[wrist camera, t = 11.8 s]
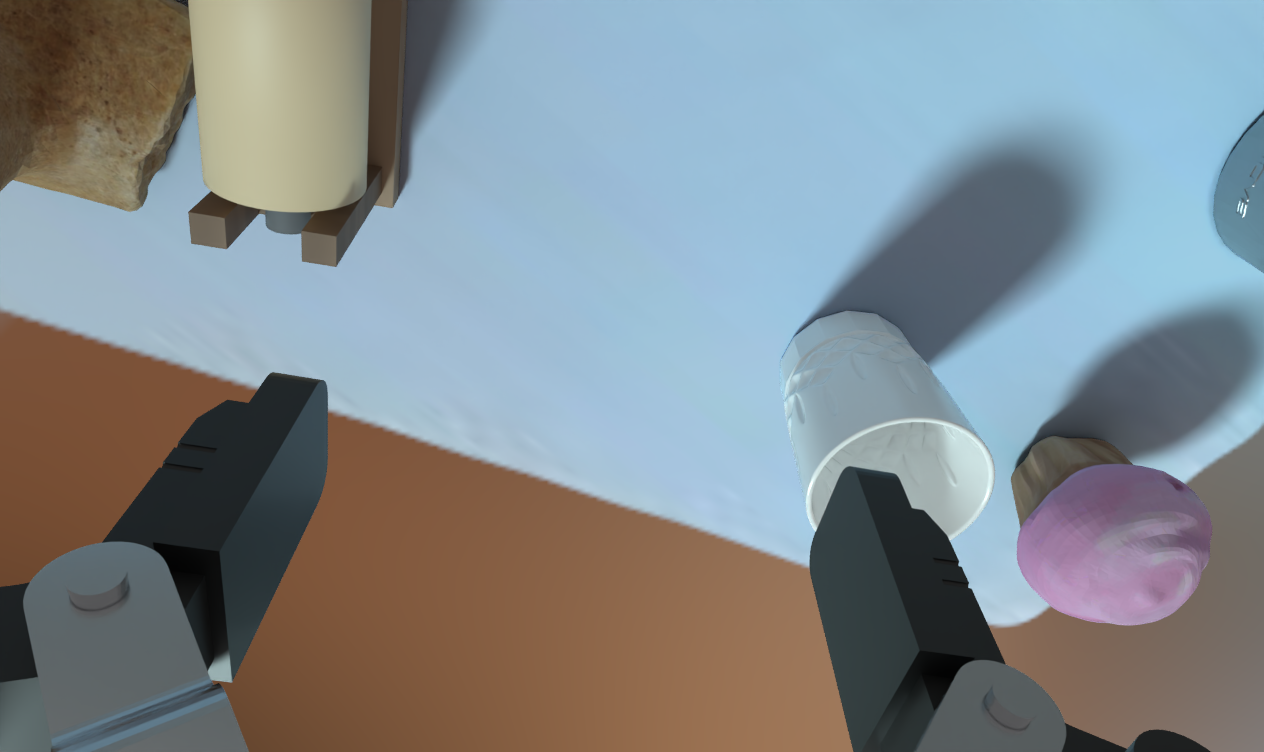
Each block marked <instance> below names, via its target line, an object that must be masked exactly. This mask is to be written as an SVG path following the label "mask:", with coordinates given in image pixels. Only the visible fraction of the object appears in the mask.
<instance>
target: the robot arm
mask: <svg viewBox="0 0 1264 752" xmlns="http://www.w3.org/2000/svg"><path fill="white" fill-rule="evenodd" d="M1213 216H1214V220H1215V225H1216V229H1217V232H1218V234H1219V235H1220V237H1221V239H1222V241H1223V242H1224V244H1225V245H1226V246H1227V247H1228V248H1229V249H1230V250H1232V251H1233V252H1234V253H1235V254H1236V255H1237V256H1239V257H1240V258H1242V259H1243V260H1245V261H1246V262H1248V263H1249V264H1251V265H1252V266H1254V267H1255V268H1257V269H1258V270H1260V271H1261V272H1263V273H1264V115H1263V116H1262V117H1261V118H1260V119H1259V120H1258V121H1257V122H1256V123H1255V124H1254V125H1253V126H1252V127H1251V128H1250V129H1249V130H1248V131H1247V133H1246V134H1245V135H1244V136H1243V137H1242V139H1241V140H1240V142H1239V143H1238V145H1237V146H1236V147H1235V149H1234V150H1233V152H1232V153H1231V154H1230V156H1229V158H1228V160H1227V162H1226V164H1225V166H1224V168H1223V170H1222V172H1221V174H1220V177H1219V180H1218V184H1217V188H1216V191H1215V195H1214V209H1213ZM327 450H328V392H327V385H326V382H325V381H324V380H318V379H312V378H305V377H299V376H293V375H287V374H281V373H274V372H272V373H270V374H269V375H268V376H267V377H266V379H265V380H264V382H263V383H262V385H261V386H260V388H259V389H258V391H257V392H256V393H255V395H254V396H253V398H252V399H251V401H250V402H249V403H245V402H238V401H232V400H226V401H225V402H223V403H221V404H220V405H218V406H217V407H215V408H213V409H212V410H210V411H208V412H207V413H205V414H203V415H202V416H200V417H198V418H197V419H196V420H195V422H194V423H193V424H192V425H191V427H190V428H189V429H188V431H187V432H186V433H185V434H184V436H183V437H182V438H181V440H180V441H179V442H178V447H177V448H174V449H173V450H172V452H171V453H170V454H169V456H168V457H167V458H166V459H165V461H164V462H163V466H162V468H158V470H157V471H156V472H155V474H154V475H153V476H152V478H151V479H150V480H149V482H148V483H147V484H146V486H145V487H144V488H143V490H142V491H141V492H140V493H139V495H138V496H137V497H136V499H135V500H134V501H133V502H132V504H131V505H130V506H129V508H128V509H127V510H126V512H125V513H124V514H123V516H122V517H121V518H120V520H119V521H118V522H117V523H116V525H115V526H114V527H113V529H112V530H111V531H110V533H109V534H108V535H107V537H106V538H105V539H104V541H103V542H102V543H97V544H93V545H88V546H85V547H82V548H79V549H76V550H73V551H71V552H69V553H66V554H64V555H62V556H60V557H58V558H57V559H55V560H53V561H52V562H50V563H49V564H48V565H46V566H45V567H44V568H42V569H41V570H40V571H39V572H38V573H37V574H36V575H35V576H34V578H33V579H32V581H31V582H29V583H25V584H20V585H13V586H5V587H0V752H249V751H248V748H247V746H246V743H245V741H244V738H243V736H242V733H241V730H240V728H239V726H238V723H237V720H236V718H235V715H234V712H233V710H232V707H231V705H230V702H229V700H228V697H227V695H226V693H225V691H224V689H223V687H222V686H221V685H220V684H219V683H218V684H216V685H213V683H212V681H211V680H217V681H225V682H232V681H233V679H234V677H235V675H236V673H237V671H238V669H239V666H240V664H241V663H242V660H243V658H244V656H245V654H246V652H247V650H248V648H249V646H250V644H251V642H252V640H253V637H254V635H255V633H256V631H257V629H258V627H259V625H260V623H261V621H262V619H263V617H264V614H265V613H266V610H267V608H268V606H269V604H270V602H271V600H272V598H273V596H274V594H275V592H276V590H277V588H278V586H279V583H280V581H281V579H282V577H283V575H284V573H285V571H286V569H287V567H288V564H289V563H290V560H291V558H292V556H293V554H294V552H295V550H296V548H297V546H298V544H299V542H300V540H301V538H302V535H303V533H304V531H305V529H306V527H307V525H308V523H309V521H310V519H311V516H312V515H313V513H314V510H315V508H316V506H317V504H318V502H319V499H320V497H321V494H322V491H323V487H324V483H325V477H326V472H327V460H328V451H327ZM958 563H959V560H958V558H957V556H956V554H955V552H954V549H953V547H952V545H951V543H950V541H949V538H948V536H947V535H946V534H945V532H944V531H943V530H942V529H941V528H940V527H939V526H938V525H937V524H936V523H935V522H934V520H933V519H932V518H931V517H930V516H929V515H928V514H927V513H926V512H925V511H924V510H921V509H914V508H912V507H911V505H910V502H909V500H908V497H907V495H906V493H905V490H904V488H903V486H902V483H901V481H900V479H899V477H898V476H897V475H896V474H895V473H889V472H883V471H877V470H871V469H865V468H858V467H852V466H848V467H846V468H845V469H844V470H843V471H842V473H841V474H840V476H839V479H838V481H837V483H836V486H835V488H834V490H833V493H832V495H831V497H830V500H829V502H828V504H827V507H826V509H825V511H824V514H823V516H822V518H821V521H820V523H819V525H818V528H817V530H816V532H815V535H814V538H813V541H812V545H811V551H810V574H811V579H812V583H813V587H814V591H815V595H816V600H817V604H818V608H819V612H820V616H821V620H822V624H823V628H824V633H825V637H826V641H827V645H828V649H829V653H830V657H831V661H832V665H833V670H834V673H835V678H836V682H837V686H838V690H839V694H840V698H841V702H842V706H843V711H844V715H845V719H846V723H847V727H848V731H849V735H850V739H851V744H852V747H853V751H854V752H1210V751H1209V750H1208V749H1206V748H1205V747H1203V746H1201V745H1200V744H1198V743H1197V742H1195V741H1193V740H1191V739H1189V738H1187V737H1185V736H1182V735H1179V734H1177V733H1174V732H1170V731H1165V730H1149V731H1146V732H1143V733H1142V734H1141V735H1139V736H1138V737H1137V738H1136V740H1135V741H1134V742H1133V743H1132V744H1131V745H1130V747H1129V748H1128V749H1126V748H1123V747H1121V746H1119V745H1116V744H1114V743H1111V742H1109V741H1106V740H1104V739H1101V738H1099V737H1096V736H1094V735H1092V734H1089V733H1087V732H1084V731H1082V730H1079V729H1077V728H1075V727H1072V726H1070V725H1068V724H1066V723H1065V722H1064V719H1063V717H1062V714H1061V712H1060V710H1059V708H1058V707H1057V705H1056V704H1055V702H1054V701H1053V700H1052V698H1051V697H1050V696H1049V695H1048V693H1046V692H1045V690H1044V689H1043V688H1042V687H1040V686H1039V685H1038V684H1037V683H1036V682H1035V681H1034V680H1032V679H1031V678H1029V677H1028V676H1027V675H1025V674H1024V673H1021V672H1020V671H1018V670H1016V669H1015V668H1012V667H1010V666H1008V665H1006V664H1005V662H1004V659H1003V657H1002V655H1001V653H1000V650H999V648H998V646H997V644H996V642H995V640H994V637H993V635H992V633H991V631H990V629H989V626H988V624H987V622H986V620H985V618H984V615H983V613H982V611H981V609H980V607H979V604H978V602H977V600H976V598H975V596H974V593H973V591H972V589H970V588H968V584H969V582H968V580H967V578H966V576H965V574H964V571H963V569H962V567H960V566H958Z"/></svg>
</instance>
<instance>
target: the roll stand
mask: <svg viewBox="0 0 1264 752" xmlns="http://www.w3.org/2000/svg"><path fill="white" fill-rule="evenodd" d="M407 6H408V0H372V1H371V39H370V77H369V114H368V152H367V188H366V192H365V194H364V195H363V196H362V197H361V198H360V199H359V200H357V201H356V202H354V203H351V204H349V205H346V206H343V207H340V208H336V209H331V210H325V211H316V212H311V219H310V220H309V222H308V223H307V224H306V225H305V227H304V228H303V229H302V231H301V235H302V261H303V262H309V263H315V264H322V265H328V266H334V267H336V266H337V265H338V263H339V261H340V260H341V258H342V257H343V255H344V253H345V252H346V250H347V248H348V247H349V245H350V244H351V242H352V240H353V239H354V237H355V235H356V234H357V232H358V231H359V229H360V227H361V226H362V224H363V223H364V221H365V219H366V218H367V216H368V214H369V213H370V211H371V210H372V208H373V206H374V205H377V206H383V207H389V208H393V207H394V205H395V203H396V201H397V199H398V193H399V172H400V151H401V131H402V110H403V89H404V68H405V48H406V27H407ZM188 213H189V224H190V234H191V243H192V244H198V245H204V246H210V247H216V248H222V249H227V248H228V247H229V246H230V245H231V244H232V243H233V242H234V241H235V239H236V238H237V237H238V236H239V235H240V234H241V233H242V232H243V231H244V230H245V228H246V227H247V226H248V225H249V224H250V223H251V222H252V221H253V220H254V218H255V217H256V216H257V215H258V214H265V210H263V209H257V208H253V207H248V206H244V205H241V204H237V203H234V202H232V201H229V200H226V199H224V198H222V197H220V196H218V195H217V194H215V193H213V192H212V191H211V192H210V193H209V194H208V195H206V196H205V197H204V198H203V199H202V200H201V201H200V202H199V203H198V204H197V205H196V206H194V207H193V208H192V209H191V210H190V211H189V212H188Z"/></svg>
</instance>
